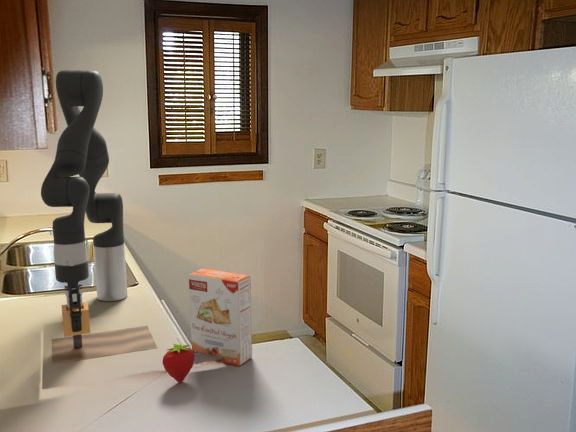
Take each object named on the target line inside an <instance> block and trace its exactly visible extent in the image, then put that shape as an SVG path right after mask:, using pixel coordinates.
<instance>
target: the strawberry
mask: <svg viewBox="0 0 576 432" xmlns="http://www.w3.org/2000/svg"><path fill="white" fill-rule="evenodd" d="M177 340H178V342H179V343H180V344H176V343H173V347H170V348H168V349H166V353H165V354H164V355H163V357H162V365H163V368H164V370H165V372H166V373H168V375H169V376H170V377H171V378H173V379H174V380H175V381H176V382H177V383H182V382H184V381H185V379H186V377H187V376H188V374H189V373H190V371H191V369H192V368H193V366H194V362H195V357H196V356H195V352H194V351H193V350H192V348H190V346H191V344H182V343H181V341H180V340H179V339H177Z"/></svg>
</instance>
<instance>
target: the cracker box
mask: <svg viewBox="0 0 576 432" xmlns="http://www.w3.org/2000/svg"><path fill="white" fill-rule="evenodd" d="M251 289H252V288H251V276H250V275H247V274H241V273H234V272H227V271H222V270H215V269H208V268H202V267H201V268H200V269H198V270H195V271H193V272H191V273H189V274H188V290H189V292H188V293H189V314H190V317H189V318H190V336H191V337H190V338H191V350H192V351H193V352H194V351H195V352H199V353H203V354H206V355H211V356H215V357H218V359H215V361H217V362H221V363H225V364H228V365H232V366H237V367H242V365H243V364H244V363H247V362H248V361H249V360H250V359H252V358H253V347H252V346H253V340H252V339H253V338H252V337H253V336H252V295H251V294H252V293H251ZM219 357H220V358H219Z"/></svg>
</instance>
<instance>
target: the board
mask: <svg viewBox="0 0 576 432" xmlns="http://www.w3.org/2000/svg"><path fill="white" fill-rule="evenodd" d="M153 349H158V346H157V344H156V342H155V339H154V337H153V334H152V332H151V330H150V328H149V326H148V325H142V326H134V327H130V328H129V327H128V328H120V329H115V330H114V329H113V330H107V331H106V330H105V331H100V332H94V333H93V332H92V333H88V334H81V335H74V336H67V337H64V336H63V337H57V338H52V339H51V365H59V364H65V363H70V362H78V361H84V360H90V359H96V358H97V359H98V358H102V357H103V358H104V357H110V356H115V355H122V354H128V353H134V352H140V351H148V350H153Z"/></svg>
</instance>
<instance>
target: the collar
mask: <svg viewBox="0 0 576 432" xmlns="http://www.w3.org/2000/svg"><path fill="white" fill-rule="evenodd" d="M82 303H83V304H82V306H81V313H82V316H81V325H82V330H81V331H79V332H73V331H72V323H71V317H70V308H68V307H67V304H61V315H62V317H61V318H62V329H63V338H64V337H71V336H74V335H85V334H91V323H90V310H89V309H90V308H89V305H88V302H87V301H84V302H83V301H82ZM77 311H79V308H73V309H72V312H77Z"/></svg>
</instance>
